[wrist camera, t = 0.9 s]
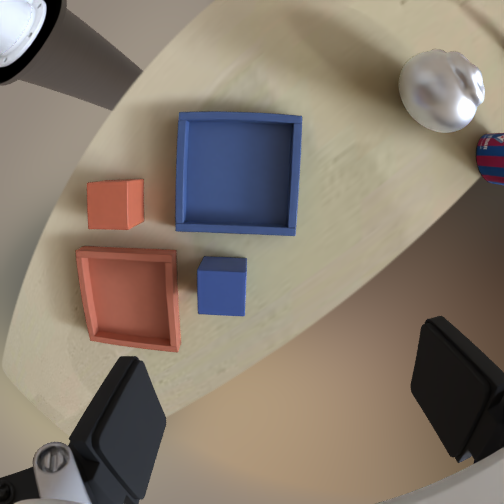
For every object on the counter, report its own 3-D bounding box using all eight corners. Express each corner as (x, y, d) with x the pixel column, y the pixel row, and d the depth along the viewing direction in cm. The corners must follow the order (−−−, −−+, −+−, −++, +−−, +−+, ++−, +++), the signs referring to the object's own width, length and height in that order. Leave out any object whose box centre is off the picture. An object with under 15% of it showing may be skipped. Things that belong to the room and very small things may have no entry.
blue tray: (183, 115, 27) (178, 112, 25) (298, 119, 27) (302, 115, 26) (179, 227, 30) (175, 231, 28) (292, 232, 31) (295, 236, 29)
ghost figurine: (458, 125, 27) (514, 119, 17) (403, 143, 28) (458, 138, 18) (431, 57, 25) (480, 34, 15) (371, 68, 26) (415, 37, 16)
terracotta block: (106, 180, 29) (86, 182, 24) (144, 179, 29) (127, 180, 25) (107, 221, 30) (88, 229, 26) (144, 221, 30) (128, 230, 26)
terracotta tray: (83, 245, 31) (75, 250, 29) (176, 249, 31) (171, 255, 29) (96, 332, 34) (90, 340, 32) (181, 343, 34) (177, 352, 32)
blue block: (203, 256, 31) (196, 270, 27) (246, 257, 31) (246, 272, 27) (204, 295, 32) (197, 314, 28) (245, 297, 32) (244, 316, 28)
